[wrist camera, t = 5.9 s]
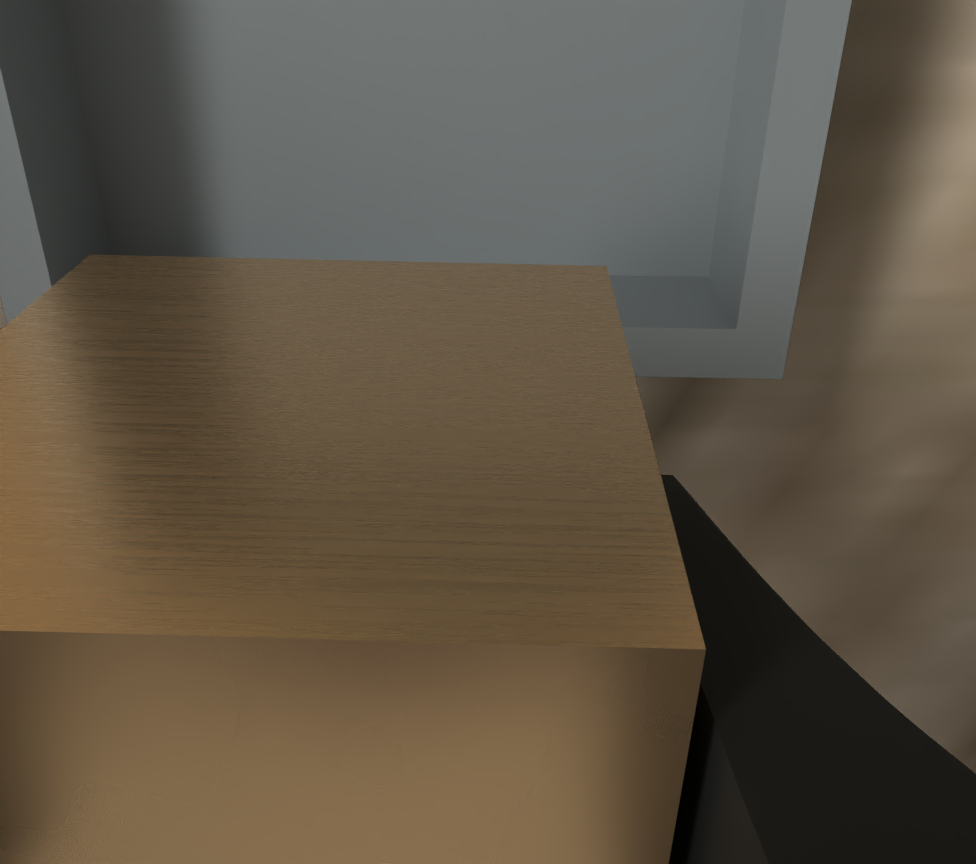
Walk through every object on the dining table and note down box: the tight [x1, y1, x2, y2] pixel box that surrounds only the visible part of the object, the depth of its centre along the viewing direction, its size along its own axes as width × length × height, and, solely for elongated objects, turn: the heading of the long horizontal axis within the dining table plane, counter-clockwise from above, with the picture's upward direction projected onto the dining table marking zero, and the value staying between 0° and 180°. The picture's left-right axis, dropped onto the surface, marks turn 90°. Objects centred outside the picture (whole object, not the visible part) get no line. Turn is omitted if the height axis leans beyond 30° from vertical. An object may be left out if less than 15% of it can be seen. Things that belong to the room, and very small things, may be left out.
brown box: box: [0, 255, 706, 864], centre depth 8 cm, size 5×5×6 cm
